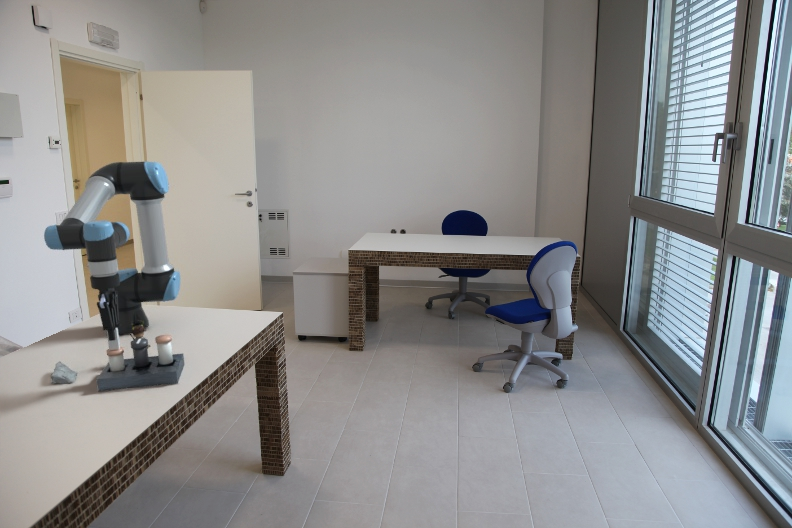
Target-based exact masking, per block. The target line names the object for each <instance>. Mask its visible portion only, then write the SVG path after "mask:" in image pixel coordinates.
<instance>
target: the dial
mask: <svg viewBox="0 0 792 528" xmlns="http://www.w3.org/2000/svg"><path fill="white" fill-rule="evenodd" d="M134 339H135V338H134ZM129 344H130V348H131V349H132V354H133V358H134V362H135V366H136V367H143V366H146V365H148V364H149V358H148V357H149V352H148V349H147V346H148V345H149V339H147V338H146V337H145V338H141V339H135V340H133V339H132V340H131V341H130V343H129Z"/></svg>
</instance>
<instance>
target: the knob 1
mask: <svg viewBox="0 0 792 528" xmlns="http://www.w3.org/2000/svg"><path fill="white" fill-rule="evenodd" d="M124 348H125V347H123V346H120V349H118V350H109V348H107V349H106V356H108V362H109V364H110V371H111V372H115V371H125V363H124V359H125V358H124V353H125V349H124Z"/></svg>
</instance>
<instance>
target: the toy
mask: <svg viewBox="0 0 792 528" xmlns="http://www.w3.org/2000/svg"><path fill="white" fill-rule="evenodd" d="M132 322H133V321H132ZM132 322H131V324H132ZM143 322H144V321H143ZM144 326H145V325H144ZM146 327H147V326H146ZM147 328H148V327H147ZM147 328H144V327H143V325H139V324H137V326H134V327H133V329H132V331H131V332H132V333H130V334H129V335H130V337H131V338H132V341H133V340H135V339H141V338H145V339H146V337H145V332H146V331H147ZM130 329H131V328H130ZM149 348H151V344H148V346H147V350H148V349H149Z"/></svg>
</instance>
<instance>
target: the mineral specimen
mask: <svg viewBox="0 0 792 528" xmlns="http://www.w3.org/2000/svg"><path fill="white" fill-rule="evenodd" d="M77 374H78V372H77V371H75V370H73V369H71V368H70V367H69V366H67V365H66V364H64V363H63V362H62V361H58V362H56V363H55V367H54V368H53V371H52V374H51V376H50V379H51V384H72V383H74V382H75V380H76V378H77Z"/></svg>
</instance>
